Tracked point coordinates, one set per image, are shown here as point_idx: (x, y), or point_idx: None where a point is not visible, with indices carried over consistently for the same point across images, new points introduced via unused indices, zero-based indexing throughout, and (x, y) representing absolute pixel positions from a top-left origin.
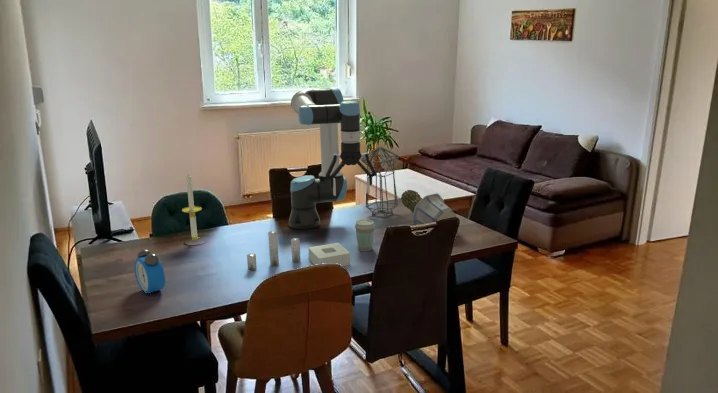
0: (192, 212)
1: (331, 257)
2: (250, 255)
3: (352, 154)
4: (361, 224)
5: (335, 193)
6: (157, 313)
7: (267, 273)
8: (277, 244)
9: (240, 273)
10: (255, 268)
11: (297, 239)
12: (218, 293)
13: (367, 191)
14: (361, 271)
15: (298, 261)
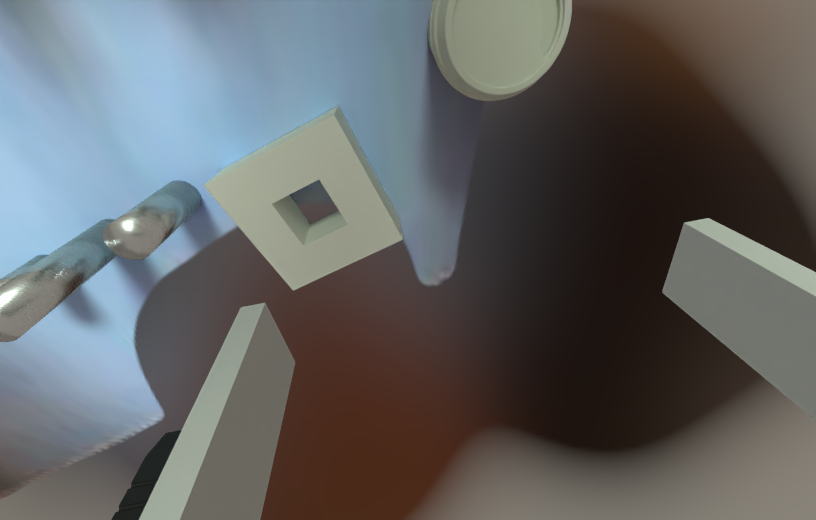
0: None
1: (335, 268)
2: None
3: None
4: (479, 71)
5: (287, 383)
6: (17, 466)
7: (132, 293)
8: (71, 285)
9: None
10: None
11: (139, 239)
12: (78, 398)
13: (687, 287)
14: (436, 264)
15: (195, 210)
